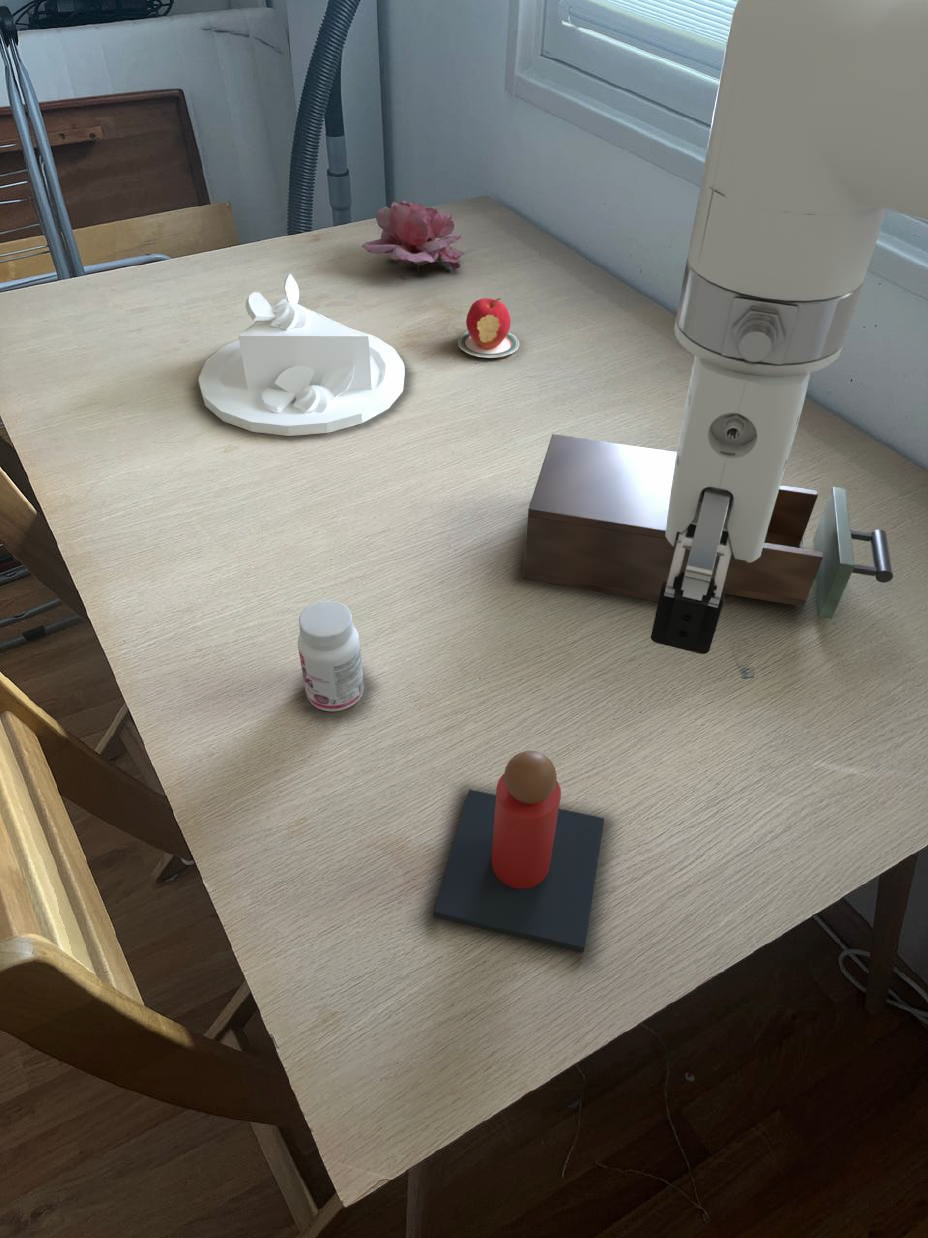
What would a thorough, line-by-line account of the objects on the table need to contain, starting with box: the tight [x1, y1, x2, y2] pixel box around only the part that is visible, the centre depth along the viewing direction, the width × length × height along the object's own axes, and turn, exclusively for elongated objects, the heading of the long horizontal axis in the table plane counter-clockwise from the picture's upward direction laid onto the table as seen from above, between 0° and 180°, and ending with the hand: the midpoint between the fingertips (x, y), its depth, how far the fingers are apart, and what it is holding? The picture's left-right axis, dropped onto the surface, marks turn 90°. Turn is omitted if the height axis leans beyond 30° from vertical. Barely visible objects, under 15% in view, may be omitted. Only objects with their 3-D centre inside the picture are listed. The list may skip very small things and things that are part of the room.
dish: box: [197, 273, 406, 437], centre depth 104 cm, size 25×25×11 cm
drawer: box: [711, 484, 894, 620], centre depth 80 cm, size 19×11×6 cm, turn 76°
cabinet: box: [522, 433, 690, 603], centre depth 83 cm, size 16×13×8 cm
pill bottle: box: [297, 600, 365, 712], centre depth 69 cm, size 5×5×8 cm
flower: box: [361, 199, 465, 274], centre depth 130 cm, size 15×15×10 cm
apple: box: [457, 297, 520, 359], centre depth 113 cm, size 8×8×6 cm
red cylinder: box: [491, 750, 562, 889], centre depth 56 cm, size 4×4×12 cm
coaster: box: [433, 789, 605, 953], centre depth 60 cm, size 10×10×1 cm
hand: (692, 589), depth 51 cm, fingers open, 9 cm apart
